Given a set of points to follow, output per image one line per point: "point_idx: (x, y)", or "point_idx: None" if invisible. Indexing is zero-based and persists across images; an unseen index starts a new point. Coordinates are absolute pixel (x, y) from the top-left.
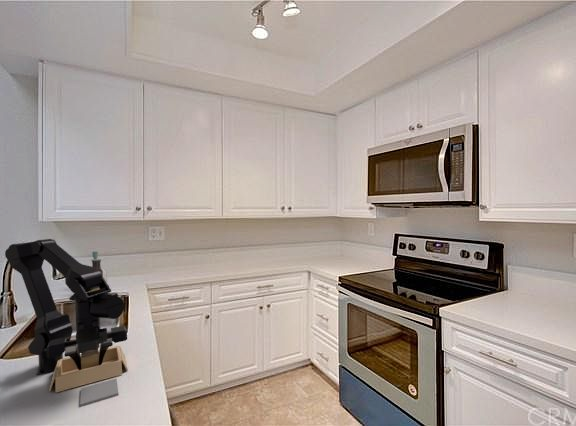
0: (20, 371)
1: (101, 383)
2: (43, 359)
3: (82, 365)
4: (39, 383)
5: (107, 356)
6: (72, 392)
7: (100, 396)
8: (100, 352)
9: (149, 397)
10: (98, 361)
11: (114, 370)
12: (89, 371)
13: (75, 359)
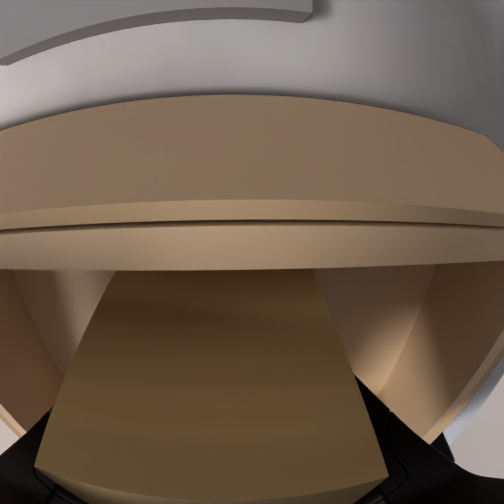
0: (446, 427)
1: (98, 4)
2: (454, 460)
3: (329, 360)
4: None
5: None
6: (374, 78)
7: None
8: (48, 486)
9: None
10: (84, 366)
11: None
12: (209, 168)
13: (419, 463)
